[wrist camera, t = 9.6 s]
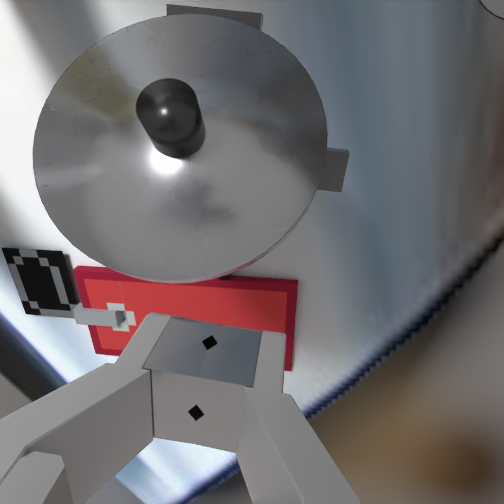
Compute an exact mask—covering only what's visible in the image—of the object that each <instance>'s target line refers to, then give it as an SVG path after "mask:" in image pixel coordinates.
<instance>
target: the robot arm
mask: <svg viewBox="0 0 504 504" xmlns="http://www.w3.org/2000/svg"><path fill="white" fill-rule="evenodd" d="M261 335H262V336H261ZM260 342H261V343H260ZM285 352H286V334H285V333H279V332H271V331H264V330H263V332H262V331H260V330H253V329H247V328H241V327H234V326H228V325H222V324H216V323H211V322H206V321H200V320H195V319H190V318H184V317H179V316H172V315H166V314H161V313H155V312H151V313H149V314H148V315H146V317H145V318H144V320H143V321H142V323H141V324H140V326H139V327H138V329H137V330H136V332H135V333H134V335H133V336H132V338H131V340H130V341H129V343H128V344H127V346H126V347H125V349H124V350H123V352H122V353H121V355H120V356H119V358H118V359H117V361H116V362H115V364H111V363H106V364H104V365H102V366H100V367H98V368H96V369H95V370H93V371H91V372H89V373H87V374H85V375H83V376H81V377H79V378H78V379H76V380H74V381H72V382H70V383H68V384H66V385H64V386H62V387H60V388H59V389H57V390H55V391H53V392H51V393H49V394H47V395H45V396H43V397H42V398H40V399H38V400H36V401H34V402H32V403H30V404H28V405H26V406H25V407H23V408H21V409H19V410H17V411H15V412H13V413H11V414H9V415H7V416H6V417H4V418H2V419H0V504H84V503H85V502H86V501H87V500H89V498H91V497H92V496H93V495H94V494H95V493H96V492H97V491H98V490H99V489H101V487H103V486H104V485H105V484H106V483H107V482H108V481H109V480H110V479H111V478H112V477H114V476H115V475H116V474H117V473H118V472H119V471H120V470H121V469H122V468H123V467H124V466H126V465H127V464H128V463H129V462H130V461H131V460H132V459H133V458H134V457H135V456H136V455H137V454H139V453H140V452H141V451H142V450H143V449H144V448H145V447H146V446H147V445H148V444H149V443H151V442H152V441H153V437H154V438H160V439H166V440H173V441H179V442H185V443H192V444H197V445H202V446H206V447H211V448H215V449H220V450H224V451H229V452H234V453H236V457H237V459H238V462H239V465H240V468H241V471H242V473H243V477H244V479H245V482H246V485H247V488H248V491H249V494H250V497H251V499H252V502H253V504H362V503H361V502H360V500H359V499H358V497H357V496H356V494H355V493H354V491H353V490H352V488H351V487H350V485H349V484H348V482H347V481H346V479H345V478H344V476H343V475H342V473H341V471H340V470H339V468H338V467H337V465H336V464H335V462H334V461H333V459H332V458H331V456H330V455H329V453H328V452H327V450H326V449H325V447H324V446H323V444H322V443H321V441H320V439H319V438H318V436H317V435H316V433H315V432H314V430H313V429H312V427H311V426H310V424H309V423H308V421H307V420H306V418H305V416H304V415H303V413H302V412H301V410H300V409H299V407H298V406H297V404H296V403H295V401H294V400H293V398H292V397H291V395H289V394H283V382H284V367H285Z"/></svg>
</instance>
